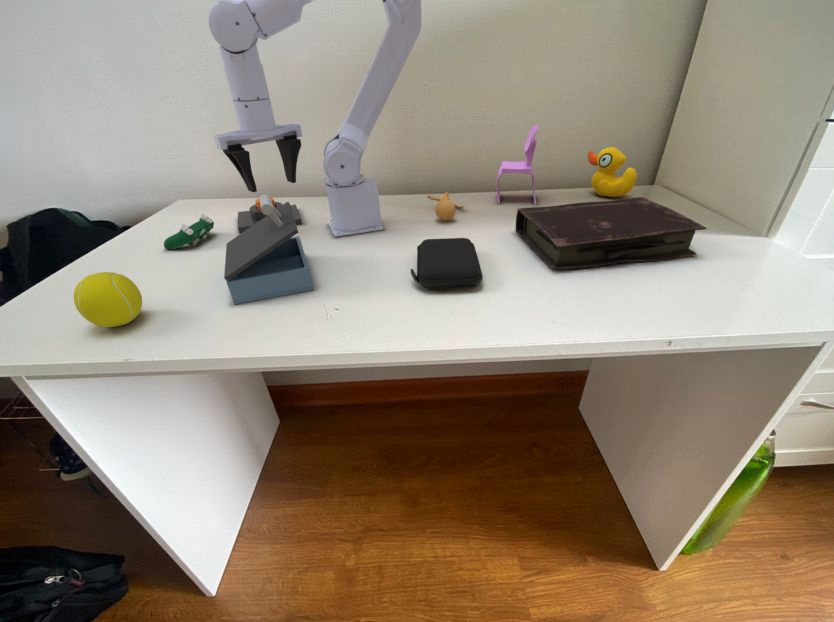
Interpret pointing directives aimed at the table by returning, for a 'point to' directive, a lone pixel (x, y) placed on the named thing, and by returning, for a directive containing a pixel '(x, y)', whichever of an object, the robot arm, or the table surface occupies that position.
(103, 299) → the tennis ball
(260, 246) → the lid
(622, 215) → the diary
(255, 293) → the lidded storage box
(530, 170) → the toy chair
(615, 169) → the duckling
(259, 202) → the button
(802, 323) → the table surface
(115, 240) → the table surface
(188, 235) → the green toy race car
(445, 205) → the figurine
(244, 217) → the control block
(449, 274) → the carrying case
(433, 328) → the table surface
